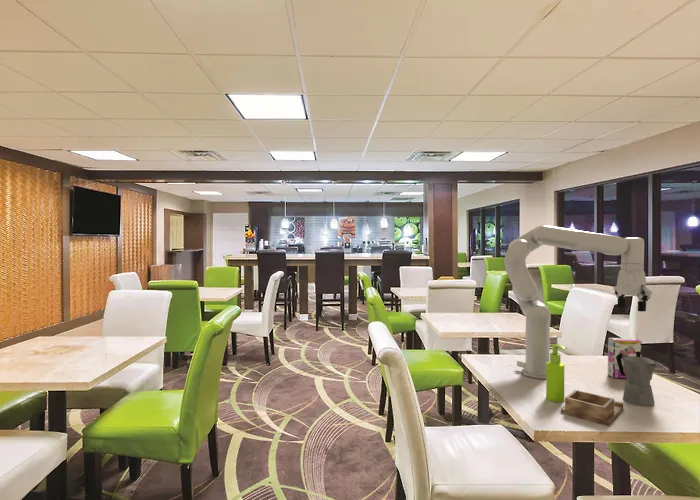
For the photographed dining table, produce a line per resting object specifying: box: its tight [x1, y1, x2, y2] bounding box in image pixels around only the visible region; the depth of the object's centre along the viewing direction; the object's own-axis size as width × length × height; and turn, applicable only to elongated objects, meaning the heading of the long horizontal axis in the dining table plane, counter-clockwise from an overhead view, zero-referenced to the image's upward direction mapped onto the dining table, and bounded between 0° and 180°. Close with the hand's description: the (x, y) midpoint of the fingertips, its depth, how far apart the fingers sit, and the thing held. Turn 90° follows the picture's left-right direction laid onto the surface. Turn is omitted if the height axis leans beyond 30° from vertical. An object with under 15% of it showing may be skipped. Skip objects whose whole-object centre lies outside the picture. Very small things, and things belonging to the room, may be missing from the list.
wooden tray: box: [560, 389, 624, 427], centre depth 133 cm, size 14×18×5 cm
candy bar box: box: [607, 337, 642, 380], centre depth 167 cm, size 11×5×16 cm, turn 84°
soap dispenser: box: [545, 343, 568, 403], centre depth 143 cm, size 6×7×20 cm
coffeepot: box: [616, 351, 658, 407], centre depth 142 cm, size 15×9×18 cm, turn 13°
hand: (631, 309), depth 161 cm, fingers open, 9 cm apart
